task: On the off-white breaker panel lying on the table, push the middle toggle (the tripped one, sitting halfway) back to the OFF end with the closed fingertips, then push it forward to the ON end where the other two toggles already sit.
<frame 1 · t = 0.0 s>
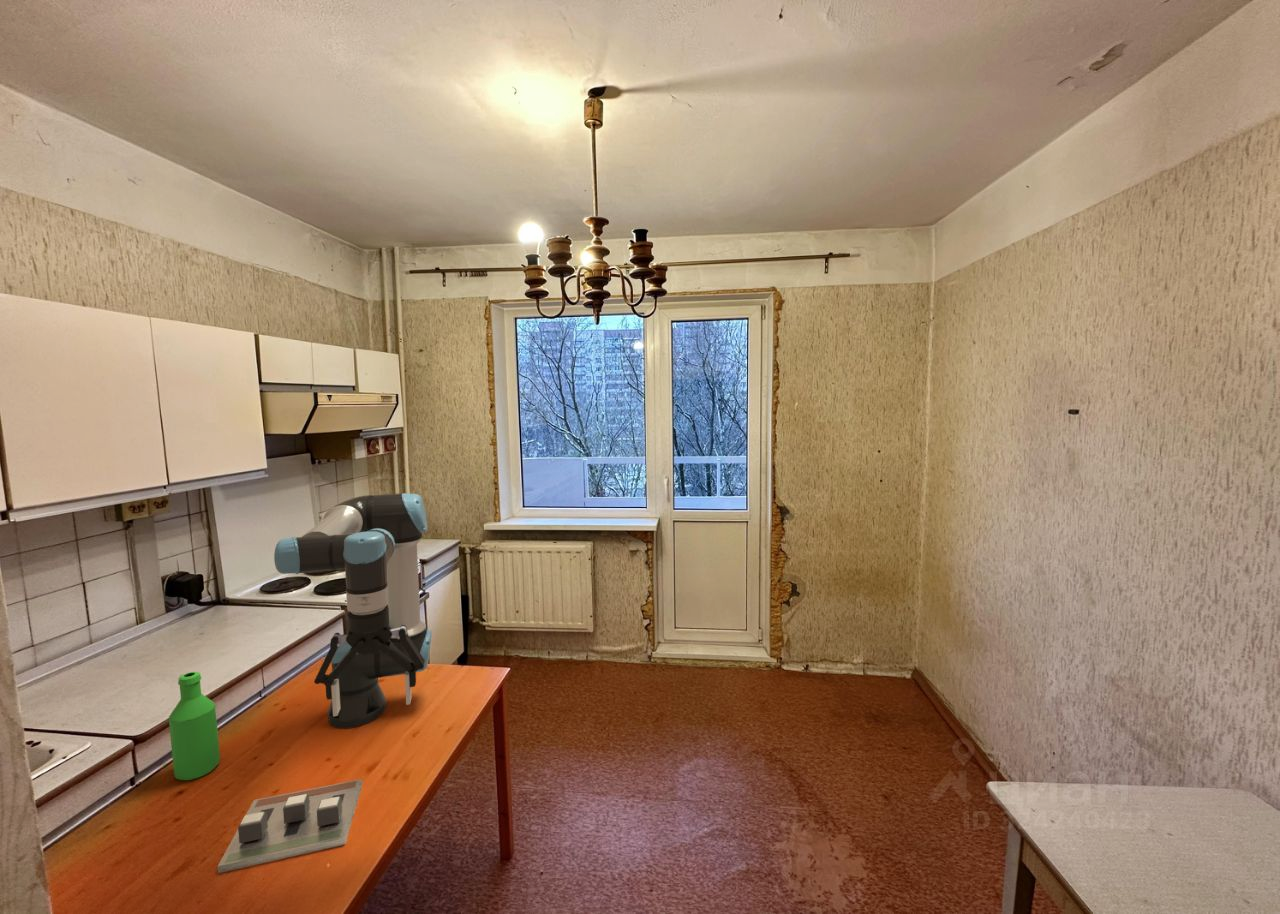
hand: (373, 706, 110), 28 cm above the table, fingers open, 13 cm apart
breaker 1: (253, 826, 109), point 4 cm above the table, slide at 3.0 cm
bottle: (197, 771, 131), on the table
panel: (297, 824, 114), on the table
breaker 3: (329, 810, 113), point 4 cm above the table, slide at 3.0 cm
breaker 2: (296, 808, 114), point 4 cm above the table, slide at 0.0 cm
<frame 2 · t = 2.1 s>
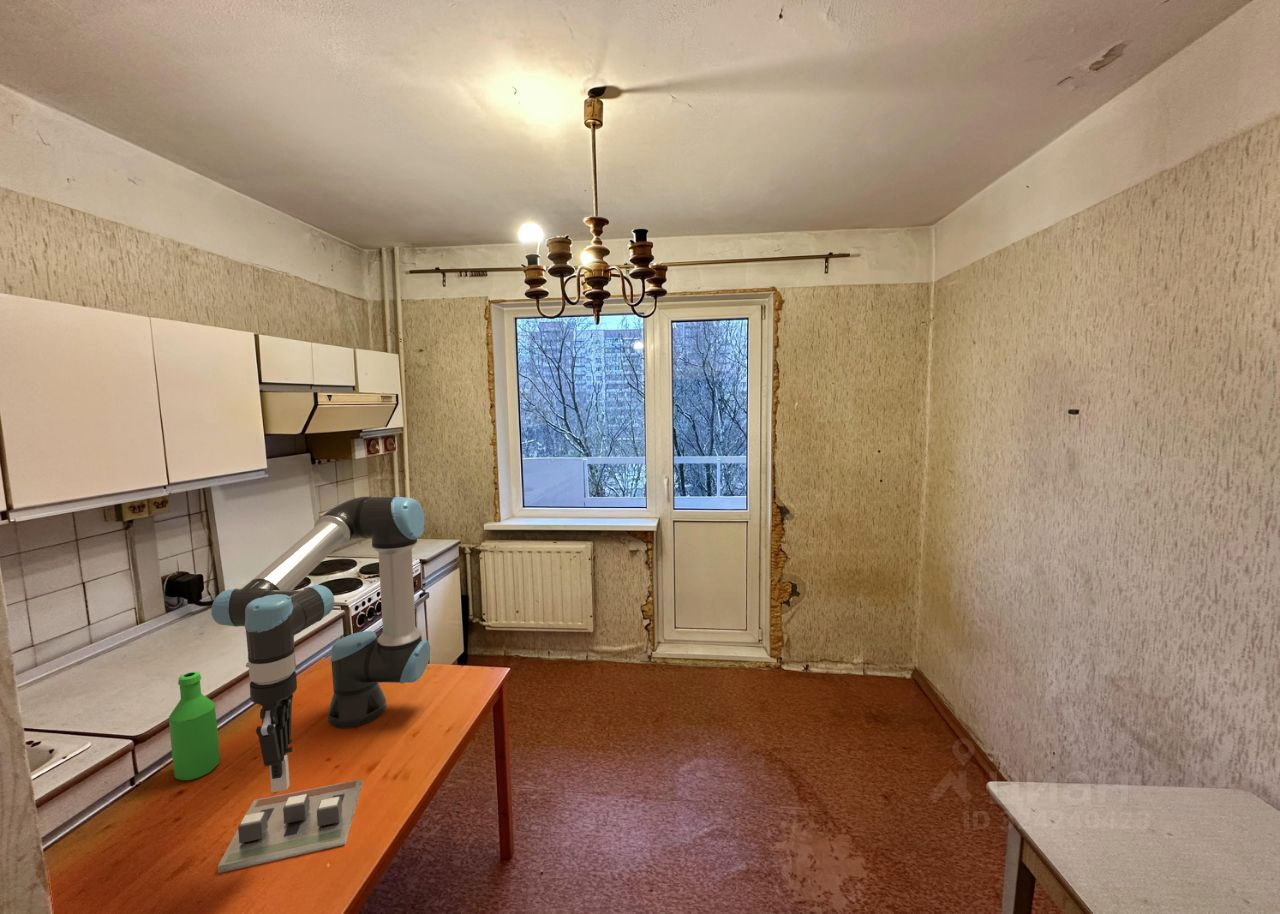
hand: (280, 788, 105), 14 cm above the table, fingers closed
nothing on the table moved.
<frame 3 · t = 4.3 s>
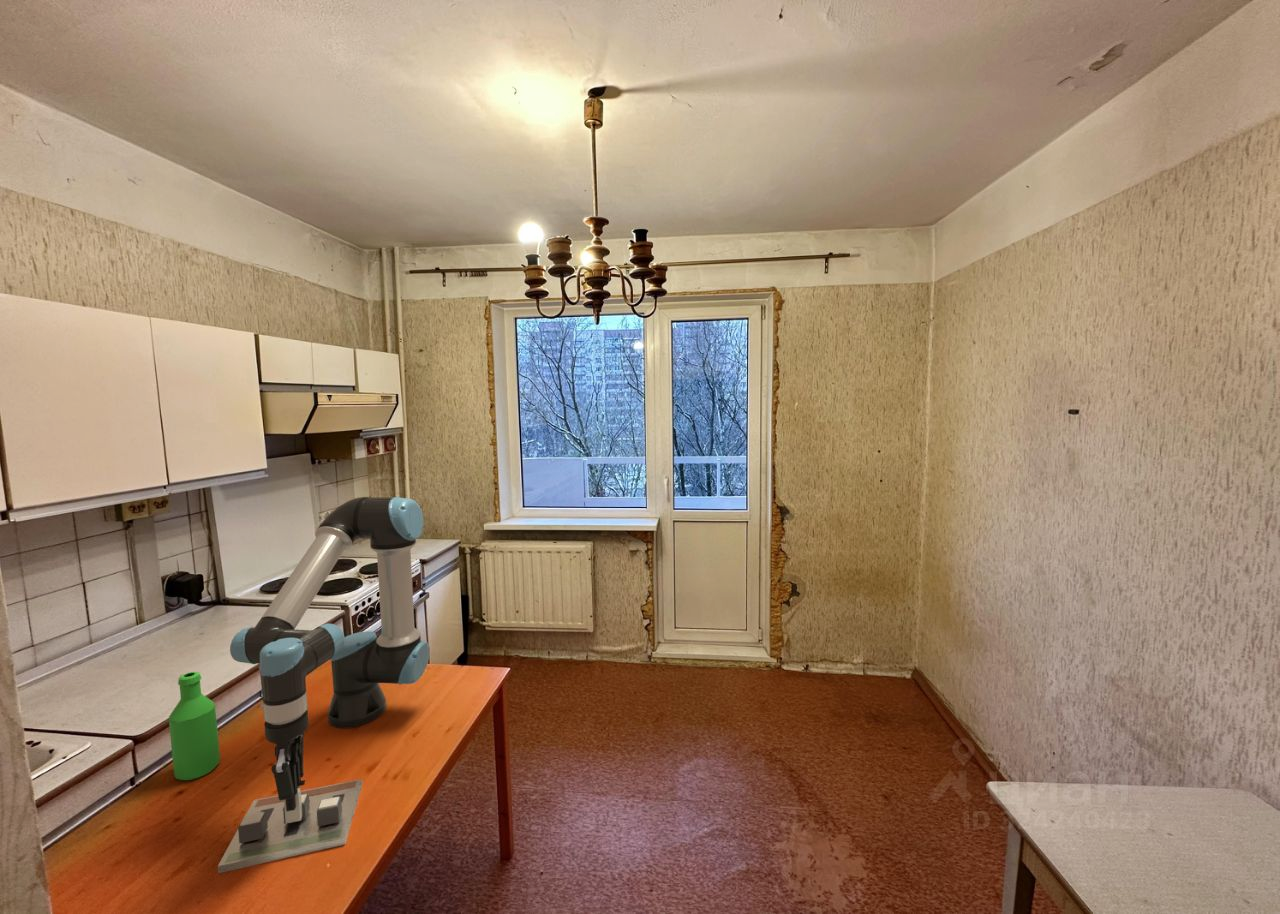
hand: (294, 819, 112), 3 cm above the table, fingers closed
breaker 2: (296, 808, 114), point 4 cm above the table, slide at 0.0 cm, touching gripper
everything else where it was.
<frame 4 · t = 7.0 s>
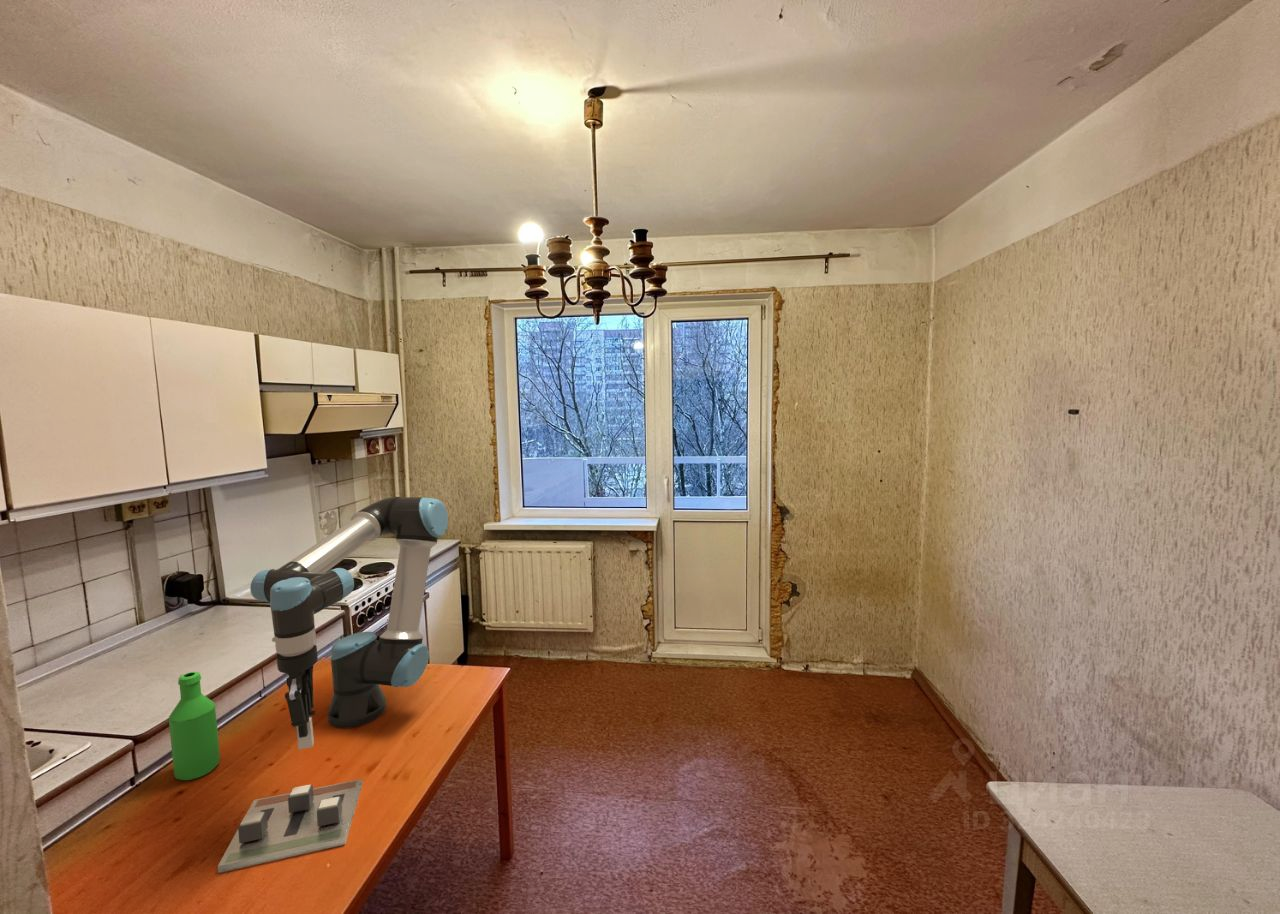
hand: (306, 746, 119), 13 cm above the table, fingers closed
breaker 2: (300, 797, 117), point 4 cm above the table, slide at -3.1 cm
everything else where it was.
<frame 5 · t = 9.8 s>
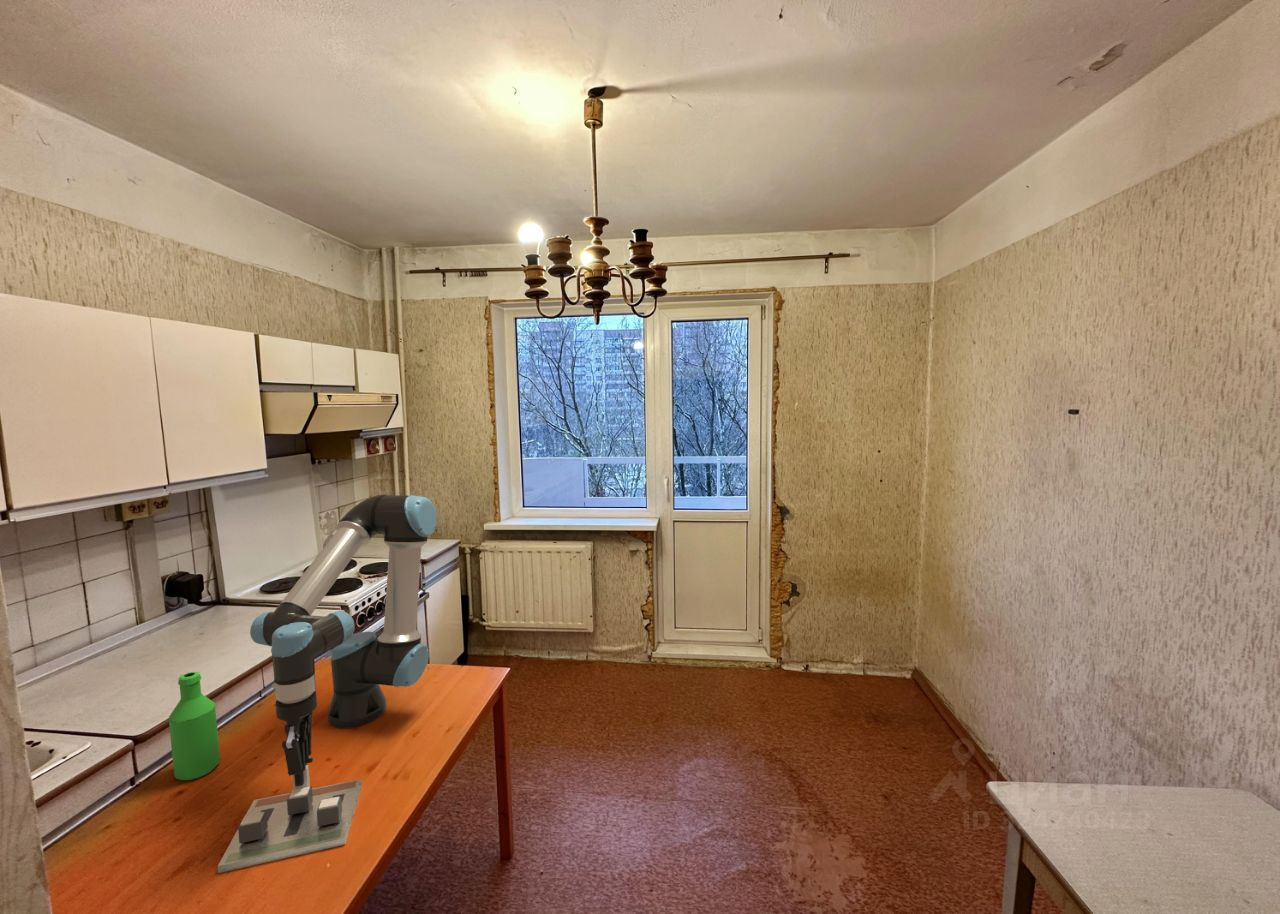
hand: (302, 794, 118), 3 cm above the table, fingers closed
breaker 2: (300, 800, 116), point 4 cm above the table, slide at -2.4 cm, touching gripper
everything else where it was.
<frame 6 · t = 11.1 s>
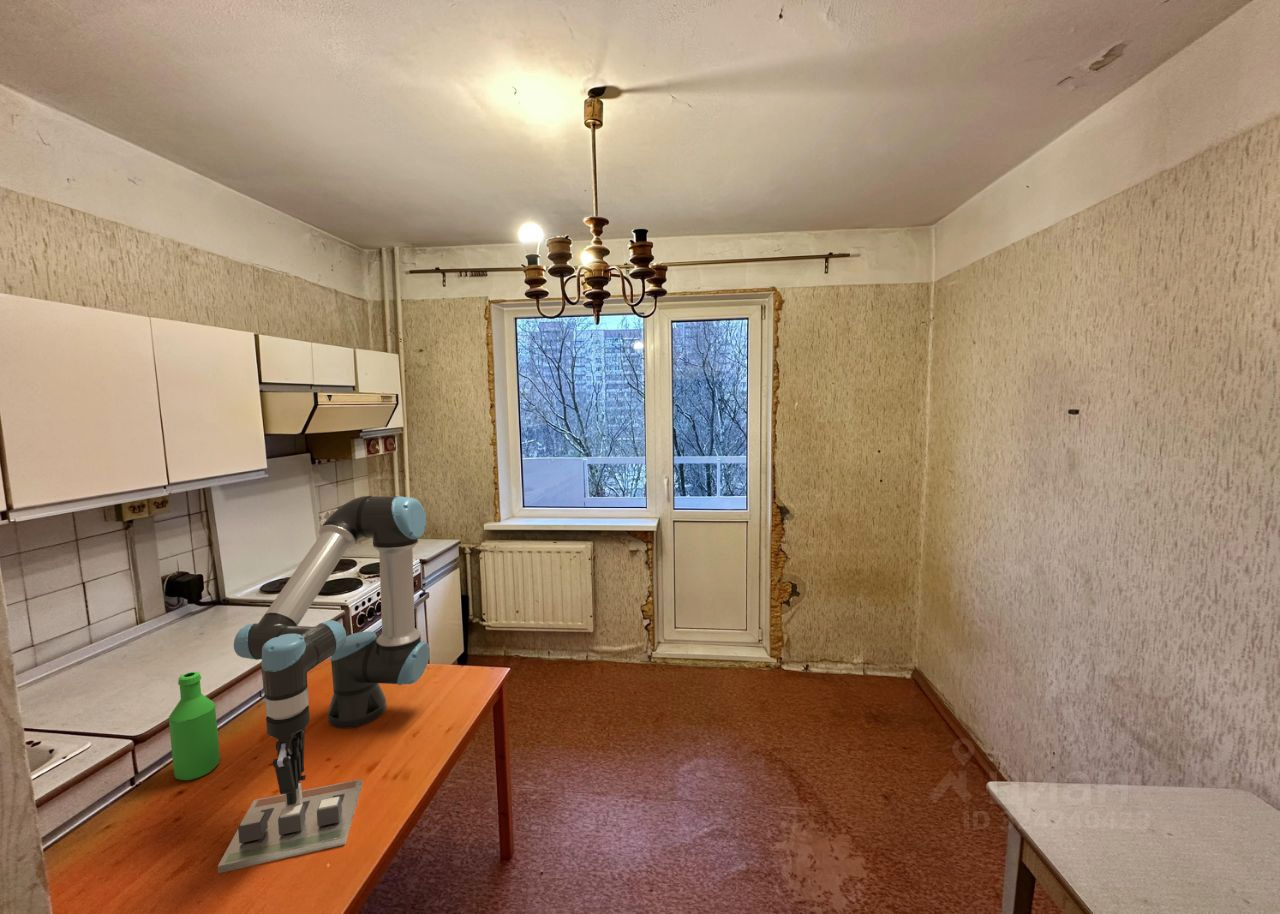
hand: (294, 813, 113), 3 cm above the table, fingers closed
breaker 2: (291, 818, 111), point 4 cm above the table, slide at 3.1 cm, touching gripper
everything else where it was.
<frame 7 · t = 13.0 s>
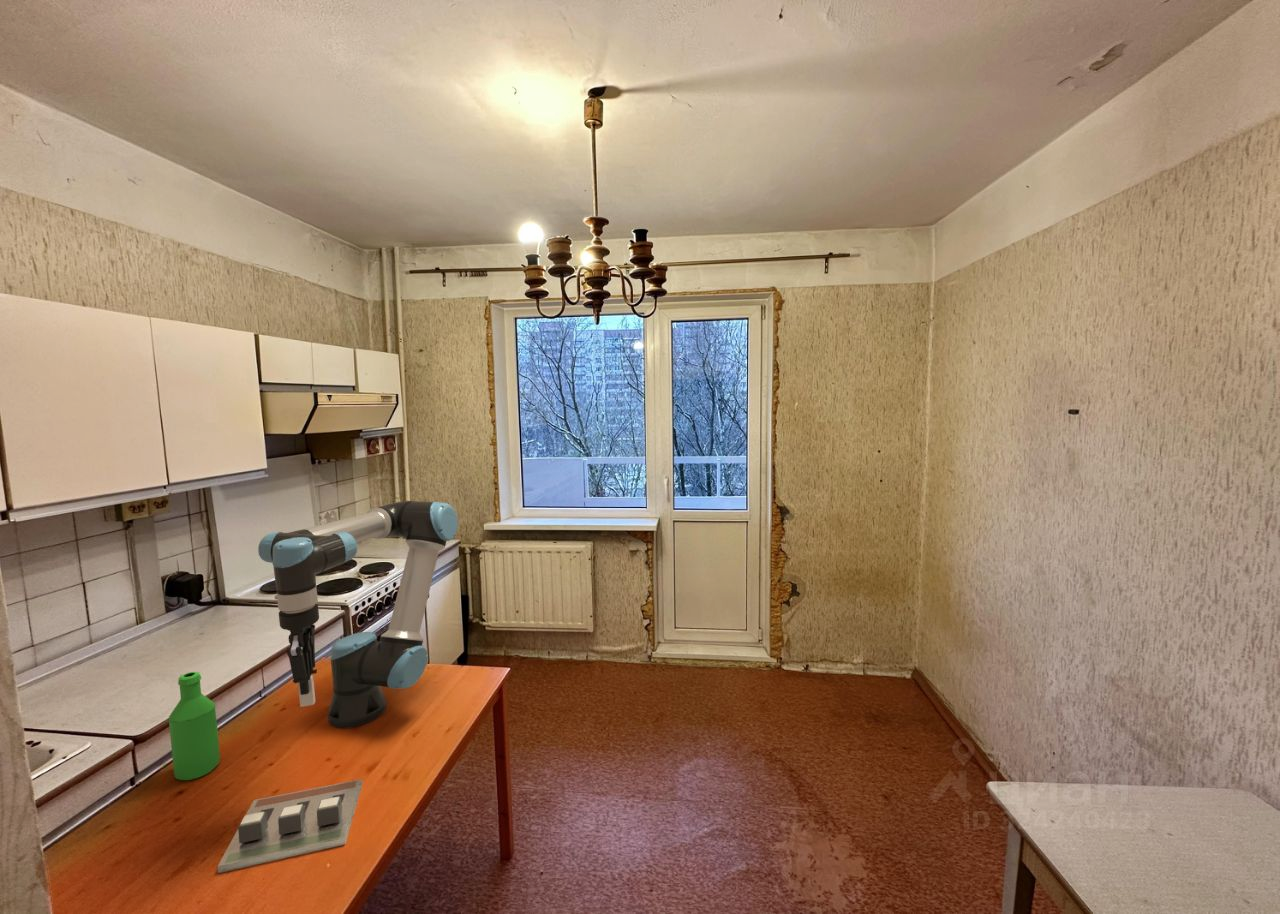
hand: (307, 703, 122), 22 cm above the table, fingers closed
breaker 2: (292, 818, 111), point 4 cm above the table, slide at 3.1 cm
everything else where it was.
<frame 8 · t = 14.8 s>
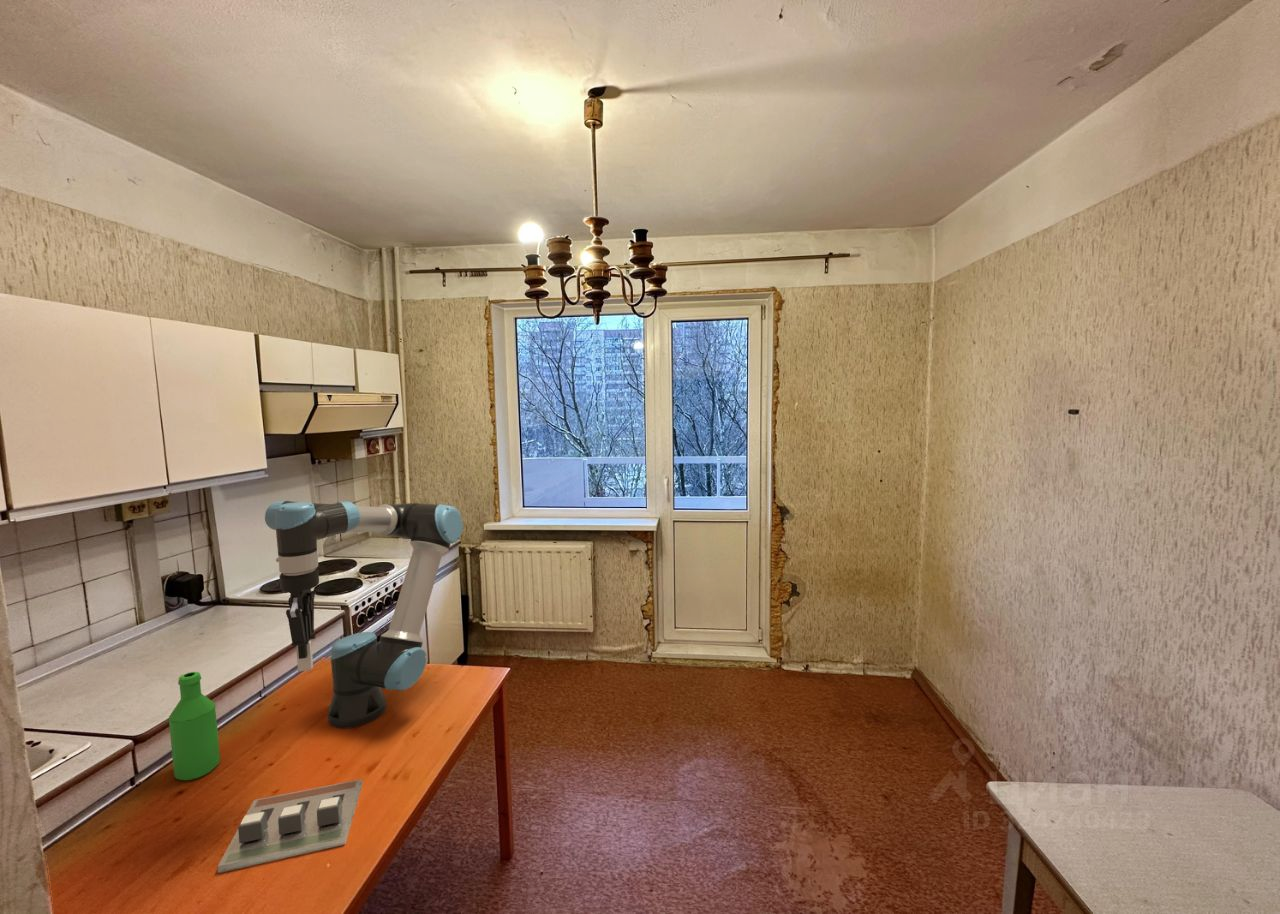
hand: (305, 668, 122), 29 cm above the table, fingers closed
nothing on the table moved.
at the end: breaker 2 slide at 3.1 cm; breaker 1 slide at 3.0 cm; breaker 3 slide at 3.0 cm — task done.
